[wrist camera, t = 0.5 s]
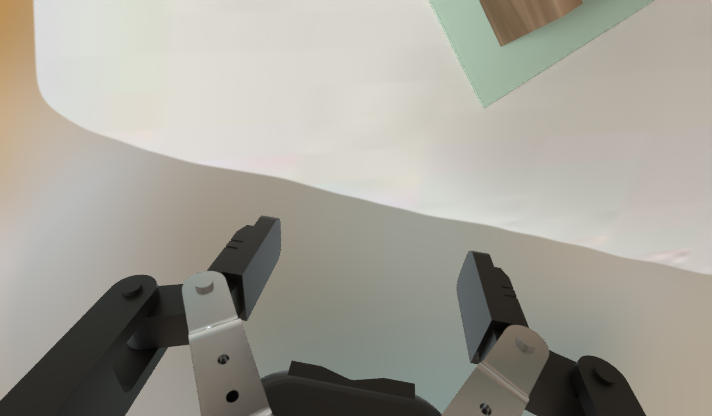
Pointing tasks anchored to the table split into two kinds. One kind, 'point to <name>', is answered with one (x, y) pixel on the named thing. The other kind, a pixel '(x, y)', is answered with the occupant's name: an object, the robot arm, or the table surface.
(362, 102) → the table surface
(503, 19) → the domino
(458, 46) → the felt mat
